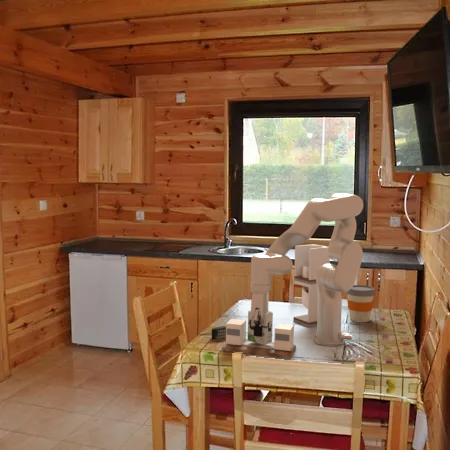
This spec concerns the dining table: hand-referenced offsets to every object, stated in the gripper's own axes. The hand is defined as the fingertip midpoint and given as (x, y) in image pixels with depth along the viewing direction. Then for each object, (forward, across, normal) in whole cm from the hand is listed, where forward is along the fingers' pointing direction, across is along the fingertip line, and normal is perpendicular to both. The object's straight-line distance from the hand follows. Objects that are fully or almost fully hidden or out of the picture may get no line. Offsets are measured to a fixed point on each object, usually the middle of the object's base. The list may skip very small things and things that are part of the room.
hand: (260, 333), depth 201 cm
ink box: (+3, 0, 0) cm, 3 cm away
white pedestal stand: (+7, -44, +13) cm, 46 cm away
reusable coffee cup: (+7, -57, +34) cm, 67 cm away
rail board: (+7, 0, 0) cm, 7 cm away
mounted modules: (+4, 0, 0) cm, 4 cm away
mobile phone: (+7, -11, -16) cm, 21 cm away
